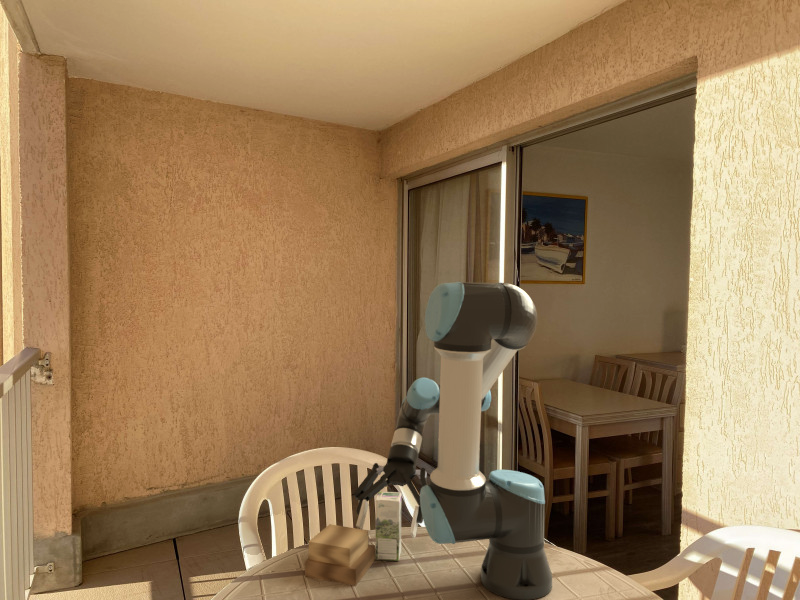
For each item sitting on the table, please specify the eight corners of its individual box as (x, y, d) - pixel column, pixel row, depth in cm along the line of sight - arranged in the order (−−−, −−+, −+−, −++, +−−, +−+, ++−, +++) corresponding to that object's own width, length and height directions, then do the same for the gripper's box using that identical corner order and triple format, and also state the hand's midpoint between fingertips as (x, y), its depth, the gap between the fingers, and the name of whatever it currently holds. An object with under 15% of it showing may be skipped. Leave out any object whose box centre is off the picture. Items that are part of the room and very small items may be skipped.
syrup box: (401, 550, 137) (401, 491, 137) (399, 562, 131) (399, 499, 131) (378, 549, 138) (378, 490, 138) (374, 560, 132) (375, 498, 132)
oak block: (368, 547, 131) (368, 530, 131) (349, 567, 122) (349, 548, 122) (329, 541, 135) (329, 524, 134) (308, 559, 125) (308, 541, 125)
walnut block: (375, 562, 132) (375, 545, 132) (355, 587, 121) (355, 569, 121) (327, 555, 136) (327, 538, 136) (305, 579, 124) (305, 561, 124)
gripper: (453, 462, 145) (439, 545, 131) (363, 453, 153) (341, 531, 139) (449, 446, 140) (433, 532, 126) (356, 438, 148) (332, 518, 133)
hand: (385, 532), depth 132 cm, fingers open, 12 cm apart
